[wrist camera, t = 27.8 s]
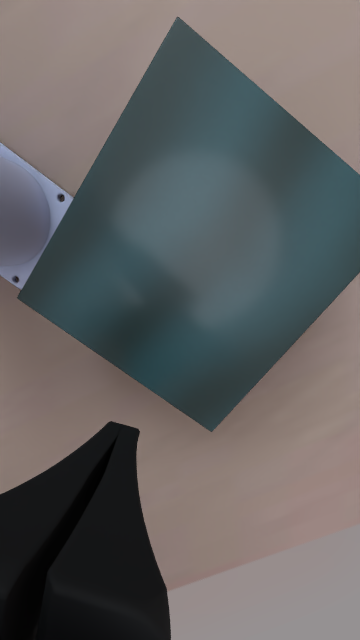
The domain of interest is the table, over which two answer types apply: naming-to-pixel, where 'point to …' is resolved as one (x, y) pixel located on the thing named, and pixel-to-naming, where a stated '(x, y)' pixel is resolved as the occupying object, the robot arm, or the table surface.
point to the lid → (200, 234)
